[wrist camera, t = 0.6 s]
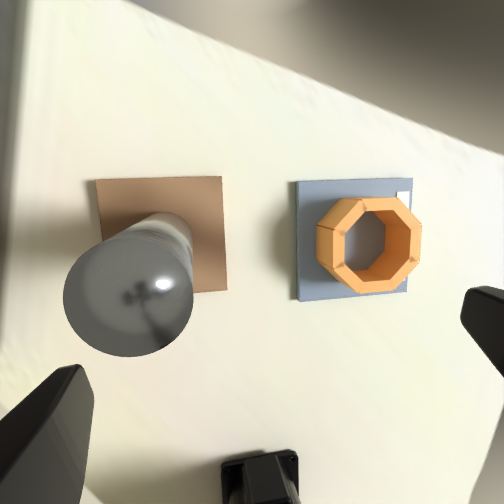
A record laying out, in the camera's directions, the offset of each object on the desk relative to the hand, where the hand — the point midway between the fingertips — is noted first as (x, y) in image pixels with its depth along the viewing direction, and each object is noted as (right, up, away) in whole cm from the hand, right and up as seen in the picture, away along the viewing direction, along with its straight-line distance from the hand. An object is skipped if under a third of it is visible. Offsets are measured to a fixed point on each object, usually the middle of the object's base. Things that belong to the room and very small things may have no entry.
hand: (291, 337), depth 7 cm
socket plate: (+7, +3, +18) cm, 19 cm away
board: (-7, +3, +15) cm, 17 cm away
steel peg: (-7, +3, +15) cm, 16 cm away
